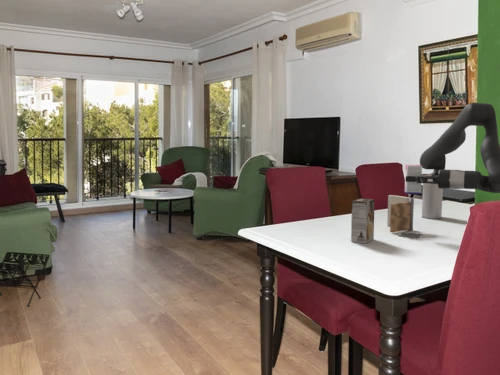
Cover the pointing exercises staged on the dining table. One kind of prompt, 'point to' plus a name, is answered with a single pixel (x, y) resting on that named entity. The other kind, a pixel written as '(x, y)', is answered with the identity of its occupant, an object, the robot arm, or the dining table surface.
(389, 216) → the cream upright panel
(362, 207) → the coffee box
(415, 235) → the pad
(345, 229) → the dining table surface
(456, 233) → the dining table surface
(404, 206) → the door
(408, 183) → the supplement box
